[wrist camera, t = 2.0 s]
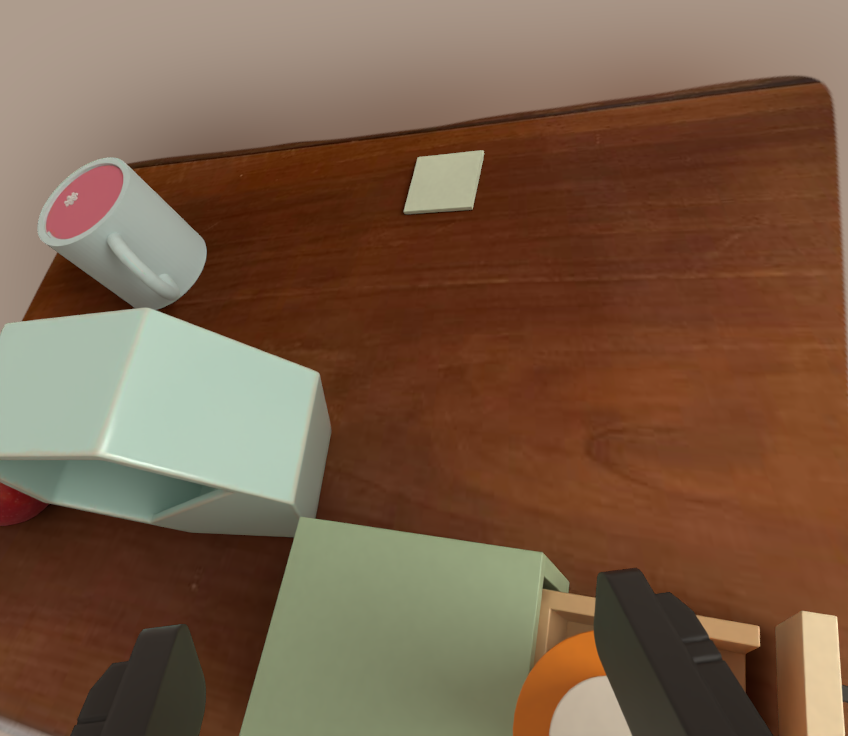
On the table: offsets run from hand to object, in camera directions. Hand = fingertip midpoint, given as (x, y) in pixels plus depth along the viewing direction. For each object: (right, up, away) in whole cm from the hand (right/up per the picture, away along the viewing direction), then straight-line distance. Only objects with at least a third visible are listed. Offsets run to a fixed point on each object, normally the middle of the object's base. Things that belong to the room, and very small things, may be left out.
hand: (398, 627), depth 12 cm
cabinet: (+2, -12, +23) cm, 26 cm away
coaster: (+2, +21, +40) cm, 45 cm away
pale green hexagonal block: (-12, -3, +33) cm, 35 cm away
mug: (-23, +13, +46) cm, 53 cm away
